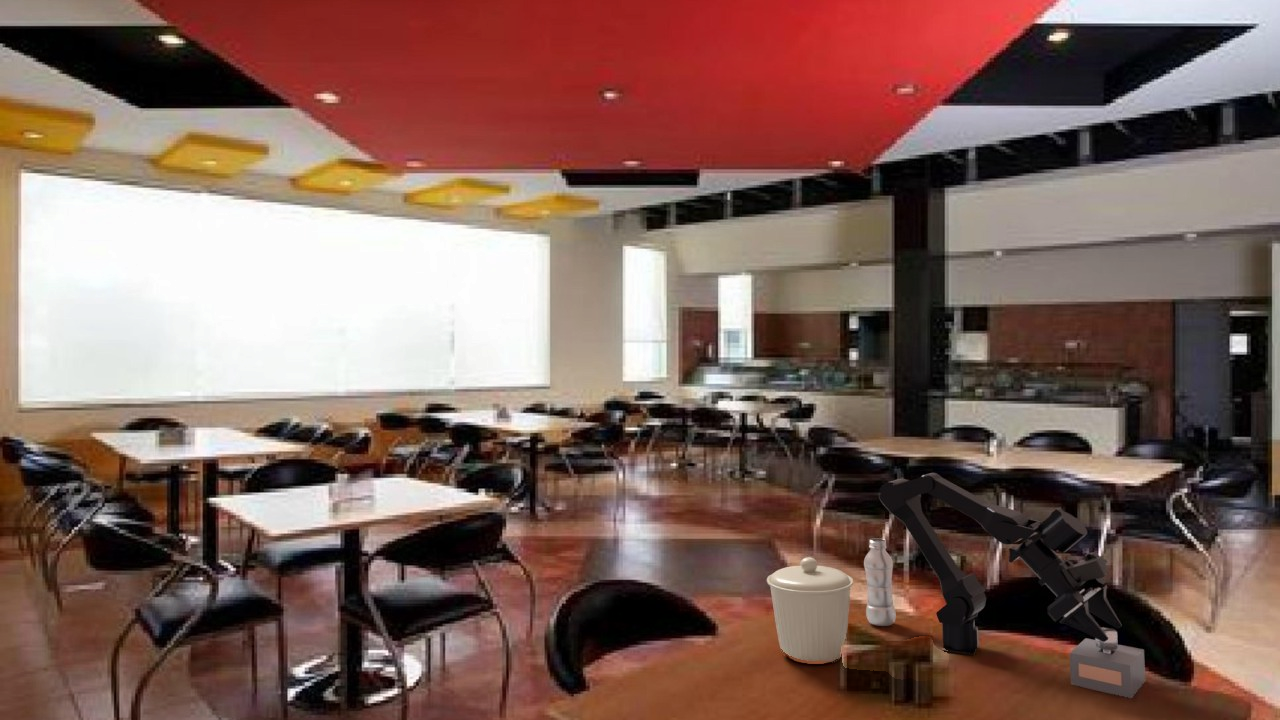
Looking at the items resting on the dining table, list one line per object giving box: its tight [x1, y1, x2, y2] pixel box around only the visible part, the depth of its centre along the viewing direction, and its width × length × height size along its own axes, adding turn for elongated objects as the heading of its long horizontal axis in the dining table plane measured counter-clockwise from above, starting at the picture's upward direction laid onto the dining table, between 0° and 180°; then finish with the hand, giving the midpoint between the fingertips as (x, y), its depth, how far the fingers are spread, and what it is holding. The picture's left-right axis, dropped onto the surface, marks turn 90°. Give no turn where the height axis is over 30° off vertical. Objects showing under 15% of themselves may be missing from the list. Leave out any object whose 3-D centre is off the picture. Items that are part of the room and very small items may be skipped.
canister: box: [766, 556, 854, 661], centre depth 170 cm, size 18×18×21 cm
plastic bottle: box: [863, 538, 897, 627], centre depth 188 cm, size 6×7×20 cm
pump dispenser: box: [1069, 637, 1146, 699], centre depth 151 cm, size 10×10×6 cm
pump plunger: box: [1094, 627, 1119, 654], centre depth 151 cm, size 4×4×9 cm
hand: (1113, 633), depth 150 cm, fingers open, 9 cm apart
